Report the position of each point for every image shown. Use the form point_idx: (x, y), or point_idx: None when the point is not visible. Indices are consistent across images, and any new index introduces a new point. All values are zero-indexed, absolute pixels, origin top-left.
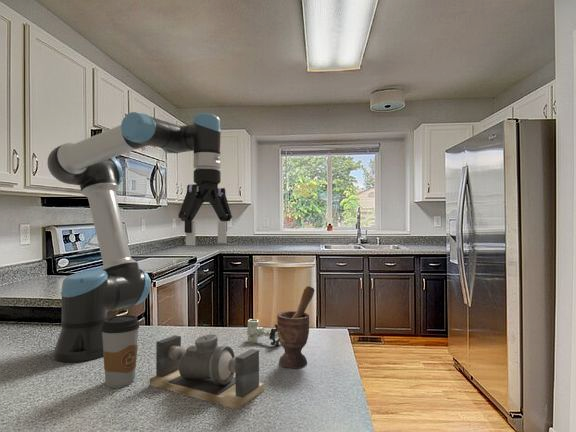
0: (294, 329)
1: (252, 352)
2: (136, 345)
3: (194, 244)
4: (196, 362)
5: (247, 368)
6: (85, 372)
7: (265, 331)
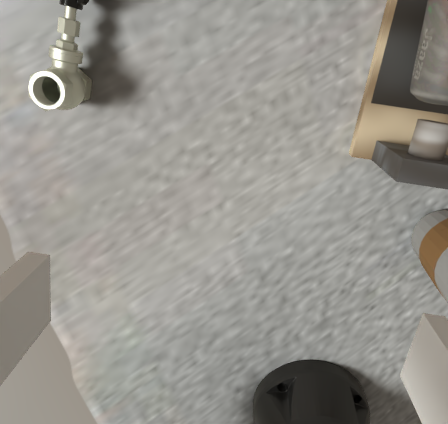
0: None
1: None
2: None
3: (434, 319)
4: None
5: None
6: (403, 331)
7: (70, 31)
